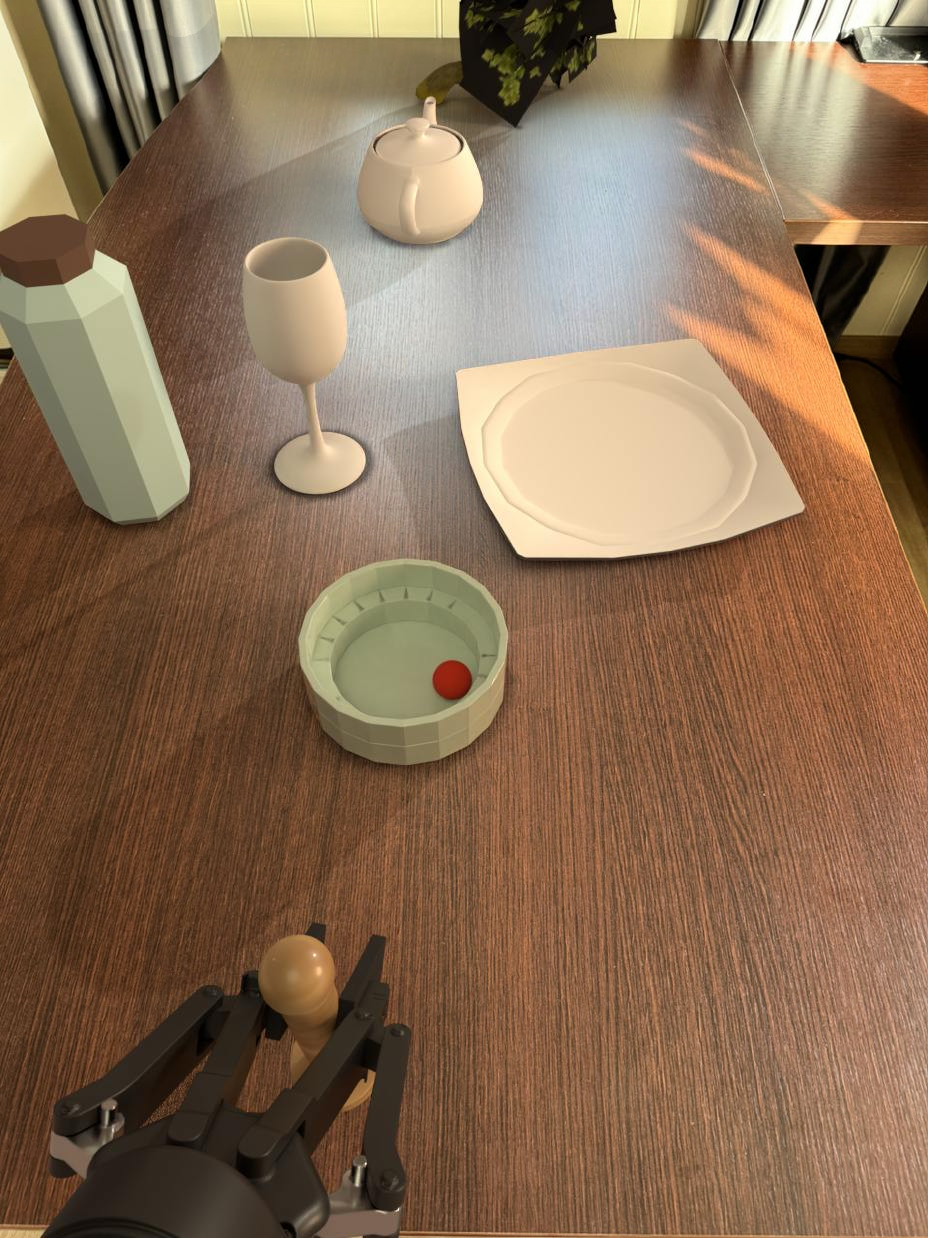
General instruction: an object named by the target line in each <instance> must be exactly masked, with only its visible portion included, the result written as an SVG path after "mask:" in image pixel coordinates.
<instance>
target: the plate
mask: <svg viewBox="0 0 928 1238" xmlns="http://www.w3.org/2000/svg"><path fill="white" fill-rule="evenodd" d="M455 384H456V385H455V386H456V394H457V405H458V413H459V422H460V423H459V424H460V433H461V436H462V441H463V444H464V449H465V452H466V455H467V459H468V463H469V467H470V470H471V472H472V474H473V477H474V479H475V482H476V484H477V487H478V490H479V492H480V495H481V497H482V500H483V502H484V504H485V505H486V507H487V509H488V511H489V512H490V514H491V515H492V517H493V519H494V521H495V522H496V524H497V526H498V528H499V529H500V531H501V532H502V534H503V536H504V537H505V539H506V541H507V542H508V544H509V546H510V547H511V550H512V551H513V552H514V554H515V556H516V557H517V558H519V559H521V560H523V561H525V562H526V561H527V562H530V561H533V562H537V561H538V562H539V561H549V562H550V561H619V560H620V561H621V560H627V559H629V560H630V559H635V558H643V557H644V558H645V557H652V556H660V555H661V556H663V555H669V554H674V553H679V552H683V551H688V550H692V549H697V548H698V549H699V548H702V547H703V548H704V547H707V546H712V545H715V544H721V543H724V542H725V543H726V542H728V541H731V540H733V539H737V538H739V537H742V536H745V535H748V534H751V533H754V532H756V531H759V530H763V529H765V528H768V527H771V526H775V525H776V524H780V523H783V522H786V521H789V520H792V519H794V518H798V517H800V516H802V515H803V513H804V511H805V509H806V505H805V503H804V501H803V500H802V497H801V495H800V494H799V492H798V490H797V488H796V486H795V484H794V482H793V480H792V478H791V476H790V475H789V472H788V471H787V468H786V467H785V464H784V462H783V461H782V459H781V457H780V455H779V453H778V451H777V449H776V447H775V445H774V444H773V443H772V441H771V440H770V437H768V435H767V433H766V432H765V430H764V428H763V427H762V425H761V423H760V422H759V419H758V418H757V417H756V415H755V414H754V413H753V411H752V409H751V408H750V406H749V405H748V404H747V402H746V401H745V399H744V398H743V396H742V395H741V394H740V392H739V391H738V389H737V388H736V386H735V385H734V384H733V383H732V382H731V380H730V379H729V378H728V376H727V374H726V373H725V372H724V371H723V369H722V368H721V367H720V366H719V364H718V362H717V361H716V360H715V358H713V356H712V354H710V353H709V351H708V350H707V348H706V347H705V346H704V345H703V343H702V342H701V341H700V340H699V339H697V338H685V339H676V340H667V341H660V342H652V343H644V344H643V343H641V344H635V345H626V346H618V347H609V348H602V349H594V350H585V351H578V352H577V351H576V352H570V353H563V354H555V355H548V356H543V357H536V358H535V357H534V358H530V359H523V360H516V361H515V360H514V361H509V362H502V363H496V364H488V365H482V366H481V365H480V366H476V367H475V366H474V367H469V368H462V369H459V370H458V371H457V372H455Z"/></svg>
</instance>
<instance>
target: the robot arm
mask: <svg viewBox="0 0 928 1238" xmlns="http://www.w3.org/2000/svg"><path fill="white" fill-rule="evenodd" d="M326 934H327V924H325V923H319V922H315V921H313V922H312V923H311V925H310V926H309V928H308V929H307V930H306V932H305V933H304V935H308V936H311V937H313V938H315V939H317V940H319V941H320V942H321V943H323V944H324V945H325V941H326ZM386 944H387V936H385V935H380V934H375V933H372V935H371V936H370V939H369V941H368V942H367V944H366V946H365V948H364V950H363V952H362V954H361V955H360V958H359V960H358V962H357V964H356V965H355V967H354V969H353V971H352V973H351V975H350V977H349V978H348V981H347V982H346V984H345V986H344V988H343V989H342V991H341V993H340V995H339V1003H338V1014H337V1018H336V1026H335V1032H334V1033H333V1035H332V1036H331V1037H330V1038H329V1040H328V1041H327V1042H326V1044H325V1045H324V1046H323V1048H322V1049H321V1050H320V1052H319V1053H318V1054H317V1056H316V1057H315V1058H314V1059H313V1061H312V1062H311V1063H310V1065H309V1066H308V1067H307V1069H306V1070H305V1071H304V1073H303V1074H302V1075H301V1077H300V1078H299V1079H298V1080H297V1082H296V1083H295V1084H293V1086H292V1087H291V1088H289V1087H284V1088H283V1089H282V1090H281V1091H280V1093H279V1094H278V1095H277V1096H276V1098H275V1099H274V1100H273V1101H272V1103H271V1104H270V1105H269V1106H268V1107H267V1109H266V1110H265V1111H264V1112H261V1111H260V1112H259V1111H247V1110H244V1109H242V1108H239V1107H237V1104H238V1102H239V1099H240V1096H241V1094H242V1093H243V1090H244V1087H245V1084H246V1081H247V1079H248V1076H249V1074H250V1072H251V1069H252V1067H253V1063H254V1061H255V1058H256V1056H257V1053H258V1051H259V1049H260V1046H261V1044H262V1035H263V1032H264V1037H263V1038H264V1039H268V1040H273V1041H276V1042H281V1040H282V1039H283V1036H284V1035H285V1033H286V1031H287V1030H288V1029H289V1027H288V1025H287V1023H286V1022H285V1020H284V1018H283V1016H282V1014H281V1013H279V1012H277V1011H275V1010H274V1009H272V1008H271V1007H270V1006H269V1005H268V1004H267V1003H266V1001H265V1000H264V998H263V996H262V994H261V992H260V989H259V984H258V972H259V969H251V970H247V971H244V972H243V974H241V979H240V980H241V981H240V989H239V993H238V994H225V991H224V989H223V988H222V987H221V986H218V985H215V984H207V985H202V986H200V987H199V988H197V990H195V991H194V992H193V993H192V994H191V995H190V996H189V997H188V998H186V1000H184V1001H183V1002H182V1003H181V1004H180V1005H179V1006H178V1007H177V1008H175V1010H174V1011H172V1012H171V1013H170V1014H169V1015H168V1016H167V1017H166V1018H165V1019H164V1020H163V1021H162V1022H161V1023H159V1025H157V1027H155V1028H154V1029H153V1030H152V1031H151V1032H150V1033H148V1035H147V1036H146V1037H144V1038H143V1039H142V1040H141V1041H139V1043H138V1044H137V1045H136V1046H134V1047H133V1049H132V1050H130V1051H129V1052H128V1053H127V1054H126V1055H125V1056H124V1057H123V1058H122V1059H121V1060H119V1061H118V1062H117V1063H116V1064H115V1065H114V1066H113V1067H111V1069H110V1070H109V1071H107V1072H106V1073H105V1074H104V1075H103V1076H102V1077H100V1078H98V1079H96V1080H94V1081H93V1082H90V1083H88V1084H86V1085H85V1086H82V1087H80V1088H79V1089H77V1090H75V1091H73V1092H71V1093H69V1094H67V1095H65V1096H63V1097H61V1098H60V1099H58V1100H57V1101H56V1102H55V1103H54V1105H53V1107H52V1118H51V1119H52V1120H51V1127H50V1140H49V1141H50V1142H49V1155H48V1167H47V1172H48V1174H49V1175H50V1176H51V1177H53V1178H55V1179H60V1180H61V1179H63V1180H64V1179H69V1178H71V1177H74V1176H76V1175H79V1176H80V1177H81V1178H82V1179H83V1181H82V1182H81V1183H80V1184H79V1186H78V1187H77V1189H76V1190H75V1191H74V1192H73V1193H72V1195H71V1196H70V1197H69V1199H68V1200H67V1201H66V1203H65V1204H64V1205H63V1206H62V1208H61V1209H60V1210H59V1212H58V1213H57V1214H56V1215H55V1217H54V1218H53V1220H52V1221H51V1222H50V1223H49V1225H48V1226H47V1227H46V1229H45V1230H44V1231H43V1233H42V1234H41V1235H40V1236H39V1238H357V1237H361V1238H400V1232H401V1224H402V1217H403V1211H404V1204H405V1197H406V1189H407V1175H406V1172H405V1169H404V1165H403V1163H402V1160H401V1157H400V1154H399V1150H398V1148H397V1145H396V1144H397V1137H398V1130H399V1123H400V1117H401V1111H402V1104H403V1098H404V1090H405V1083H406V1078H407V1070H408V1063H409V1056H410V1055H409V1054H410V1048H411V1047H410V1046H411V1041H412V1040H411V1039H412V1032H413V1031H412V1029H411V1028H410V1027H409V1026H408V1025H406V1024H404V1023H400V1022H393V1023H389V1024H387V1025H386V1026H385V1022H386V1019H387V1017H388V1010H389V1001H390V995H391V988H390V984H389V983H386V982H382V974H383V967H384V959H385V952H386ZM207 1056H208V1057H207ZM206 1057H207V1059H206V1061H205V1064H204V1065H203V1068H202V1069H201V1070H200V1071H199V1070H197V1072H196V1073H195V1074H194V1077H193V1079H192V1081H191V1084H190V1086H189V1088H188V1089H187V1092H186V1094H185V1095H184V1097H183V1100H182V1102H181V1104H180V1106H179V1108H178V1109H176V1110H175V1112H173V1113H170V1114H168V1115H167V1116H164V1117H162V1118H159V1119H157V1120H156V1121H153V1122H150V1123H148V1124H146V1125H144V1124H145V1123H146V1122H147V1121H148V1120H149V1118H151V1116H152V1115H154V1113H155V1112H156V1111H157V1110H158V1109H159V1108H160V1107H161V1106H162V1105H163V1104H164V1102H166V1101H167V1099H168V1098H169V1097H170V1096H171V1095H172V1094H173V1093H174V1091H176V1090H177V1088H178V1087H179V1086H180V1085H181V1084H182V1083H183V1082H184V1081H185V1080H186V1079H187V1078H188V1076H189V1075H190V1074H191V1073H192V1072H193V1071H194V1070H195V1069H196V1068H197V1067H198V1066H199V1065H200V1064H201V1063H202V1062H203V1061H204V1060H205V1058H206ZM368 1070H371V1071H373V1072H375V1073H376V1074H375V1079H374V1083H373V1088H372V1093H371V1094H370V1098H369V1104H368V1108H367V1112H366V1113H367V1114H366V1118H365V1122H364V1127H363V1134H362V1141H361V1142H362V1143H361V1150H360V1154H359V1155H355V1156H354V1157H353V1158H352V1161H351V1167H350V1168H348V1169H346V1170H345V1171H344V1172H343V1173H342V1175H341V1178H340V1185H339V1187H338V1188H337V1189H336V1190H334V1191H332V1192H329V1193H328V1192H327V1189H326V1187H325V1185H324V1183H323V1181H322V1178H321V1177H320V1174H319V1171H318V1169H317V1168H316V1165H315V1163H314V1161H313V1159H312V1156H313V1155H314V1153H315V1151H316V1150H317V1148H318V1147H319V1145H320V1143H321V1142H322V1141H323V1139H324V1137H325V1136H326V1135H327V1133H328V1131H329V1130H330V1129H331V1127H332V1125H333V1123H334V1122H335V1120H336V1119H337V1118H338V1115H340V1111H341V1109H342V1108H343V1106H344V1105H345V1103H346V1102H347V1100H348V1099H349V1097H350V1095H351V1094H352V1092H353V1091H354V1089H355V1088H356V1086H357V1085H358V1083H359V1082H360V1080H361V1079H364V1083H367V1078H368ZM143 1125H144V1126H143Z"/></svg>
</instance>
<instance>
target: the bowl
mask: <svg viewBox="0 0 928 1238" xmlns="http://www.w3.org/2000/svg"><path fill="white" fill-rule="evenodd" d="M297 645H298V654H299V655H298V656H299V665H300V669H301V673H302V679H303V681H304V685H305V689H306V693H307V697H308V701H309V705H310V708H311V710H312V711H313V714H314V716H315V717H316V719H317V722H318V723H319V725H320V727H321V729H322V730H323V731H324V733H326V734H327V735H328V736H329V737H330V738H331V739H333V741H335V742H336V743H337V744H338V745H339V746H341V747H342V749H344V750H346V751H348V752H350V753H353V754H355V755H357V756H360V757H362V758H365V759H367V760H370V761H372V762H374V763H382V764H389V765H390V764H391V765H398V766H413V765H417V764H422V763H423V764H424V763H429V762H430V763H431V762H434V761H439V760H442V759H444V758H446V757H447V756H450V755H452V754H454V753H456V752H458V751H460V750H462V749H464V748H466V747H468V746H470V745H471V744H472V743H473V742H474V741H475V740H476V739H477V738H478V737H479V736H480V735H481V734H483V733H484V732H485V731H486V730H487V729H488V728H489V727H490V726H491V724H492V722H493V721H494V718H495V716H496V715H497V712H498V710H499V709H500V708H501V707H500V706H502V703H503V700H504V694H505V686H506V677H507V664H508V663H507V661H508V648H509V647H508V646H509V631H508V628H507V624H506V621H505V617H504V613H503V610H502V608H501V607H500V605H499V604H498V603H497V601H496V599H495V598H494V597H493V596H492V594H491V593H490V591H489V590H488V589H487V588H486V586H485V585H483V584H482V583H481V582H479V581H478V580H476V579H475V578H473V576H470V575H469V574H468V573H467V572H465V571H464V570H462V569H458V568H455V567H452V566H451V565H446V564H444V563H441V562H439V561H436V560H435V561H434V560H426V559H418V558H416V559H415V558H407V557H406V558H404V557H403V558H396V559H390V560H389V559H388V560H382V561H376V562H372V563H370V564H366V565H363V566H362V567H359V568H357V569H354V570H352V571H348V572H346V573H344V574H343V575H342V576H341V577H339V578H338V579H336V580H335V581H334V582H333V583H331V584H330V585H328V586H327V587H326V588H325V589H323V590H322V591H321V592H320V594H319V595H318V597H317V598H316V599H315V601H314V602H313V604H311V605H310V607H309V609H308V610H307V612H305V614H304V617H303V621H302V625H301V628H300V631H299V635H298V638H297ZM449 660H456V661H459V662H461V663H463V664H465V665H466V666H467V667H468V669H469V670H470V672H471V675H472V685H471V688H470V690H469V691H468V693H467V694H466V695H465V696H463V697H462V698H459V699H456V700H448V699H445V698H443V697H441V696H440V695H439V694H438V693H437V692H436V691H435V689H434V686H433V682H432V678H433V674H434V671H435V669H436V668H437V667H438V666H439V665H440V664H441V663H443V662H445V661H449Z"/></svg>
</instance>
